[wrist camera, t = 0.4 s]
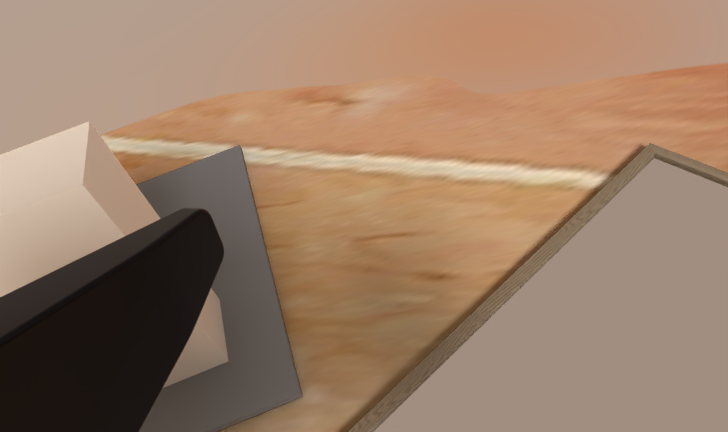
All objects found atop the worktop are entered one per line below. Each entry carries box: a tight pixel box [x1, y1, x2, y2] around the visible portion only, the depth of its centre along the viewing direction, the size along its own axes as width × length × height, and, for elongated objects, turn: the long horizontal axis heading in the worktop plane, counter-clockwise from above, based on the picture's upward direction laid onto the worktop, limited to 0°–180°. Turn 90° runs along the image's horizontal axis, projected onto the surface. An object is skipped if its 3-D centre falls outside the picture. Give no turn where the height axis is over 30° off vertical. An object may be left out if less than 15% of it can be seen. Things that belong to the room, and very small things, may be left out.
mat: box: [136, 145, 303, 432], centre depth 31 cm, size 20×16×1 cm
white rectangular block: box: [0, 121, 228, 388], centre depth 24 cm, size 4×10×12 cm, turn 108°
